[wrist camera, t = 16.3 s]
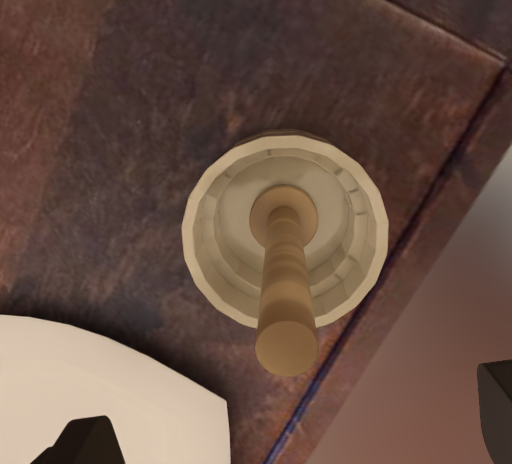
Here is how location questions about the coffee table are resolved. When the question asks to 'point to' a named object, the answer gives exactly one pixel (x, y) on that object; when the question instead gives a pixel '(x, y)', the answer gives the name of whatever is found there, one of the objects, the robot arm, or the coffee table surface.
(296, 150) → the bowl
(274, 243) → the tan tall turned piece
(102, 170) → the coffee table surface
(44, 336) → the plate
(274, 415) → the coffee table surface
